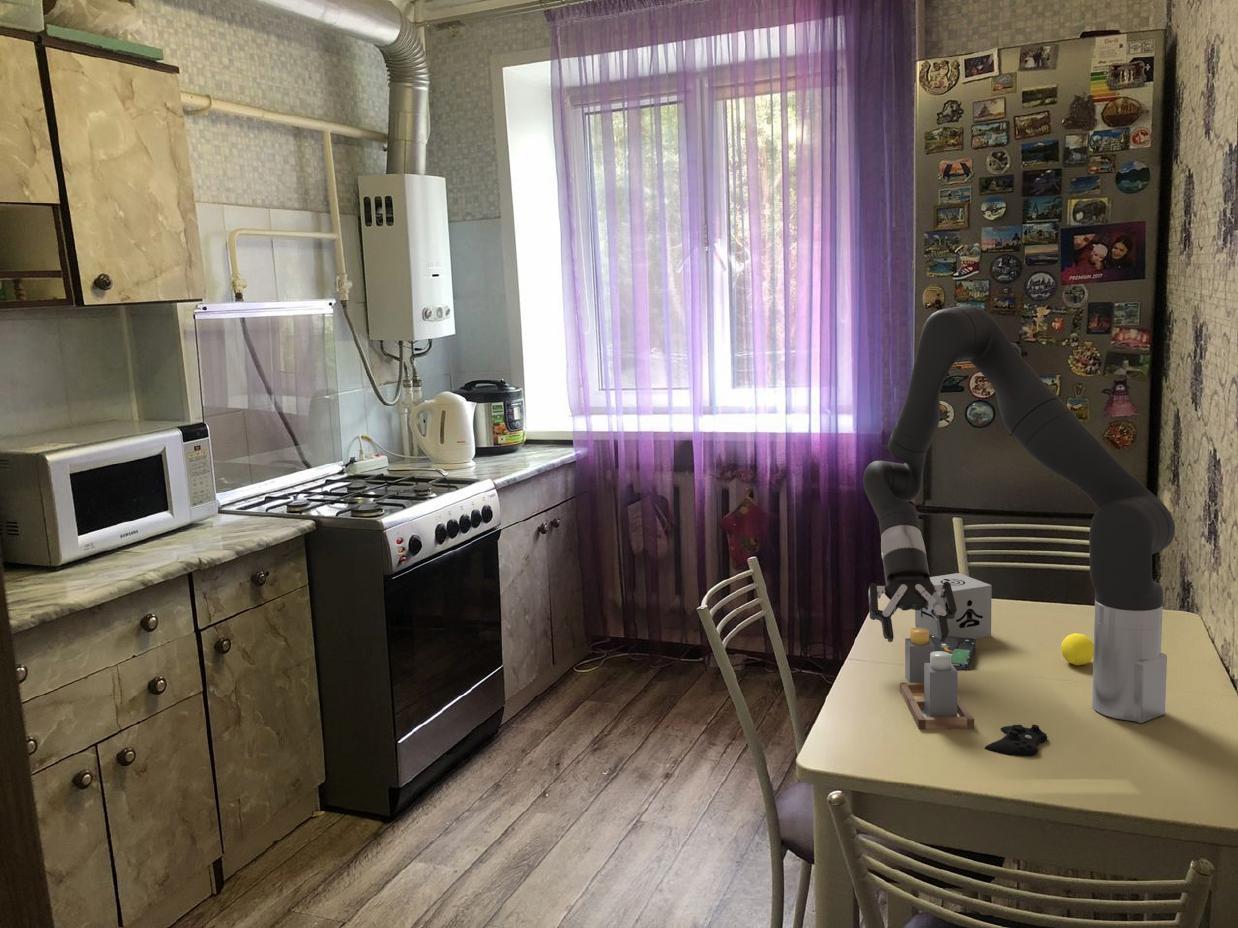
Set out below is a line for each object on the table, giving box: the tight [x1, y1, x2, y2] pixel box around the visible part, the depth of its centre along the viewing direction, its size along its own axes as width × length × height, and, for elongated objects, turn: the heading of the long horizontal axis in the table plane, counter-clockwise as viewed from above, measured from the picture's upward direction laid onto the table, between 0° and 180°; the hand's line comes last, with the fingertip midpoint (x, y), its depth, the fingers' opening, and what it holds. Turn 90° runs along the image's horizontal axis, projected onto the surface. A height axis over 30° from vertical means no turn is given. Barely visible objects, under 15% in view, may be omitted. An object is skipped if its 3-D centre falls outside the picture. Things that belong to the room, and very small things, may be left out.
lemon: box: [1060, 632, 1094, 666], centre depth 177 cm, size 7×5×5 cm
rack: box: [899, 682, 975, 730], centre depth 157 cm, size 8×15×3 cm, turn 175°
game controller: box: [984, 724, 1049, 757], centre depth 144 cm, size 10×5×7 cm
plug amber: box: [904, 627, 935, 683], centre depth 168 cm, size 4×4×10 cm
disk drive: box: [929, 634, 977, 672], centre depth 181 cm, size 10×3×15 cm
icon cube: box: [914, 572, 993, 640], centre depth 196 cm, size 10×10×10 cm
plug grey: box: [924, 651, 958, 717], centre depth 153 cm, size 4×4×10 cm
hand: (917, 639), depth 170 cm, fingers open, 8 cm apart
